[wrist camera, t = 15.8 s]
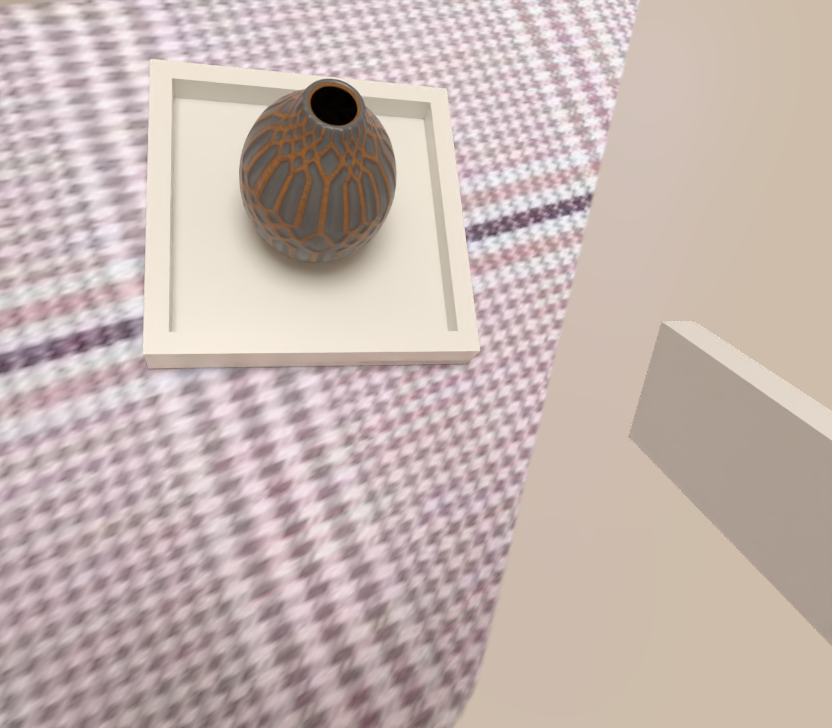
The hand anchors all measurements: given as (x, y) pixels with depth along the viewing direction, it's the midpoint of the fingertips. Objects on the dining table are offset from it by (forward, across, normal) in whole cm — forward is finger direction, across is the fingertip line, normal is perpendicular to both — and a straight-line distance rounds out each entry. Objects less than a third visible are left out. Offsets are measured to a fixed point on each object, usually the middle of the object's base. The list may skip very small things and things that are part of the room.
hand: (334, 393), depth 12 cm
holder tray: (+23, +3, -3) cm, 24 cm away
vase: (+23, +3, -3) cm, 23 cm away
